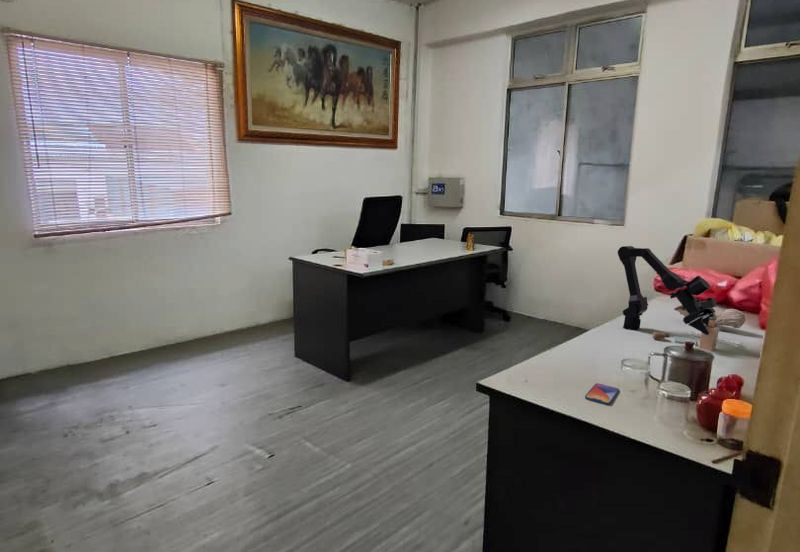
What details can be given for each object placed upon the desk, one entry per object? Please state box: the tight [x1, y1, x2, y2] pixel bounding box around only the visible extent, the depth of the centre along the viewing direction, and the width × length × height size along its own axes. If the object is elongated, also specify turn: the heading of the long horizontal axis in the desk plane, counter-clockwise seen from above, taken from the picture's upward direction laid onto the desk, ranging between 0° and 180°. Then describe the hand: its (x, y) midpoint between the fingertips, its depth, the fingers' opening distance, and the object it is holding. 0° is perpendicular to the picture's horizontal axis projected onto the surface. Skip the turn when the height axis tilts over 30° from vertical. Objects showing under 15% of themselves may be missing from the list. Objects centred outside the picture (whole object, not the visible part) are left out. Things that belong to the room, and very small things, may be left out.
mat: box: [673, 335, 697, 346], centre depth 214 cm, size 8×8×1 cm
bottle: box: [698, 316, 720, 352], centre depth 205 cm, size 5×5×14 cm
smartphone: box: [584, 383, 620, 406], centre depth 154 cm, size 7×15×1 cm, turn 145°
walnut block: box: [652, 331, 666, 342], centre depth 216 cm, size 4×4×3 cm
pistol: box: [690, 330, 743, 348], centre depth 222 cm, size 2×20×11 cm
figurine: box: [674, 304, 746, 329], centre depth 241 cm, size 12×12×30 cm
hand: (712, 332), depth 204 cm, fingers open, 9 cm apart
